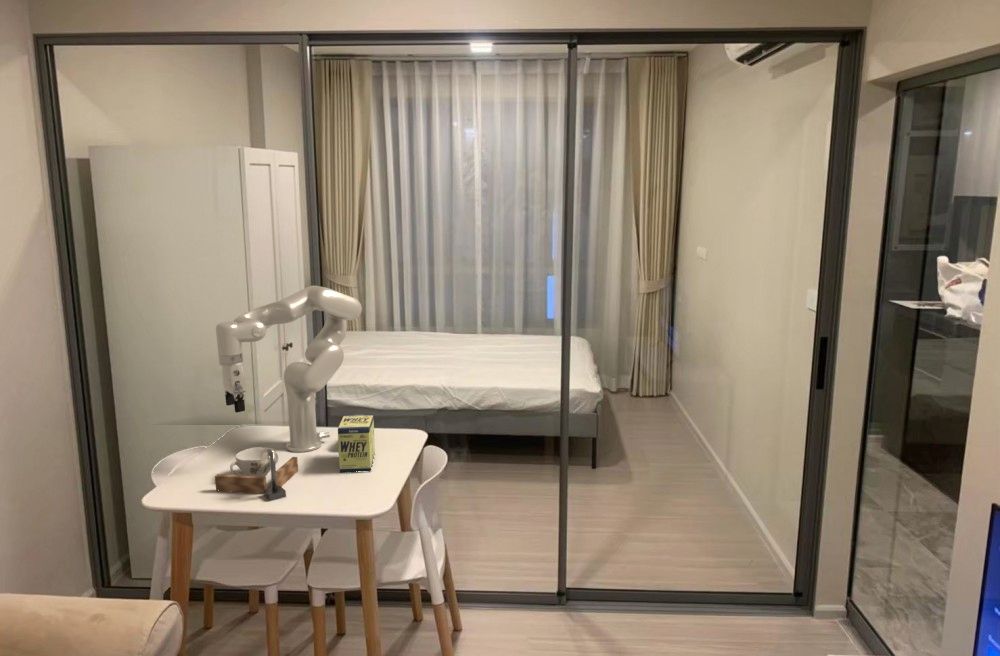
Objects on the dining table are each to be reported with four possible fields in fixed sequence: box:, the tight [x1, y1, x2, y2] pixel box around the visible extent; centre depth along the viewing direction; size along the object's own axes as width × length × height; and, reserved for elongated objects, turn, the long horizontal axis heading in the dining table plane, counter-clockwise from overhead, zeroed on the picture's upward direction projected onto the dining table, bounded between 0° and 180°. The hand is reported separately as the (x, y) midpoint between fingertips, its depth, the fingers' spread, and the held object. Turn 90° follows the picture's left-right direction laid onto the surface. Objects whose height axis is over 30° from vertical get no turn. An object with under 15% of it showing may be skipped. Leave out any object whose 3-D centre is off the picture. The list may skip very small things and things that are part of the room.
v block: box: [214, 456, 299, 495], centre depth 226 cm, size 27×12×5 cm, turn 127°
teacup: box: [229, 446, 277, 477], centre depth 233 cm, size 15×12×8 cm
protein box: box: [337, 413, 376, 474], centre depth 243 cm, size 10×16×16 cm
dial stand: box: [260, 450, 287, 502], centre depth 218 cm, size 5×6×14 cm
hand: (235, 408), depth 241 cm, fingers open, 9 cm apart
